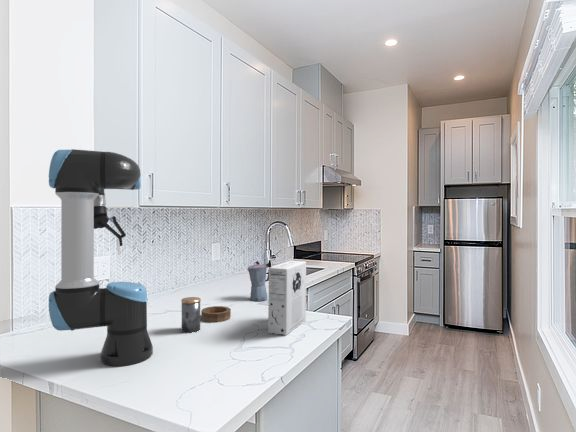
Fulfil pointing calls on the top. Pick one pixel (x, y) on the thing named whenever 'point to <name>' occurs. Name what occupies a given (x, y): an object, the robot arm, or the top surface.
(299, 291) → the cereal box
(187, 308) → the canister
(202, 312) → the wooden bowl
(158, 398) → the top surface
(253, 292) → the moka pot
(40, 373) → the top surface
